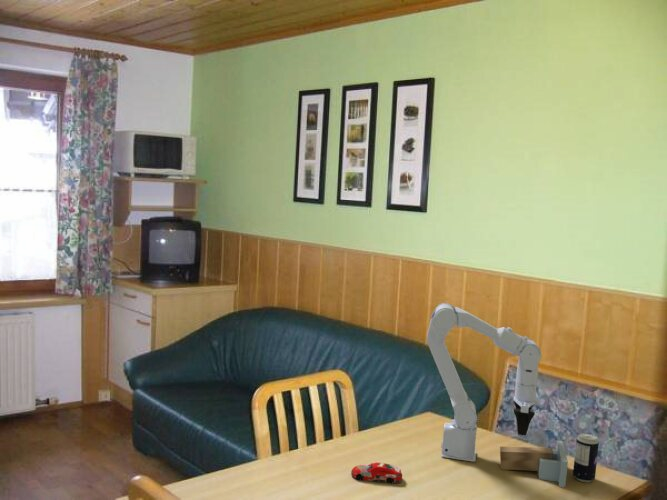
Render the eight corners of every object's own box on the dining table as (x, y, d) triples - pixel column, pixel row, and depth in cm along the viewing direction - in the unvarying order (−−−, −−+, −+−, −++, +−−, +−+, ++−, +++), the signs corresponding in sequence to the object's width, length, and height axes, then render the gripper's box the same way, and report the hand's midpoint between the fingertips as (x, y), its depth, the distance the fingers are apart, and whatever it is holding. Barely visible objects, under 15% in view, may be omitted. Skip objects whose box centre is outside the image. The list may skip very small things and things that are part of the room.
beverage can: (596, 484, 187) (600, 441, 186) (574, 481, 188) (578, 438, 187) (592, 476, 192) (597, 434, 191) (571, 473, 193) (575, 431, 192)
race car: (349, 480, 180) (350, 465, 179) (352, 472, 185) (352, 457, 185) (401, 486, 178) (402, 471, 178) (402, 477, 183) (403, 463, 183)
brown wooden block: (500, 469, 193) (500, 451, 193) (500, 463, 197) (500, 446, 197) (553, 471, 190) (553, 453, 190) (552, 465, 194) (552, 448, 193)
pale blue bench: (539, 483, 185) (542, 458, 184) (536, 461, 201) (538, 437, 200) (565, 487, 184) (567, 461, 183) (560, 465, 199) (562, 441, 199)
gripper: (541, 392, 189) (537, 440, 190) (540, 378, 203) (535, 424, 204) (514, 388, 191) (510, 437, 192) (515, 375, 205) (510, 420, 206)
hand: (521, 430), depth 198 cm, fingers open, 7 cm apart
